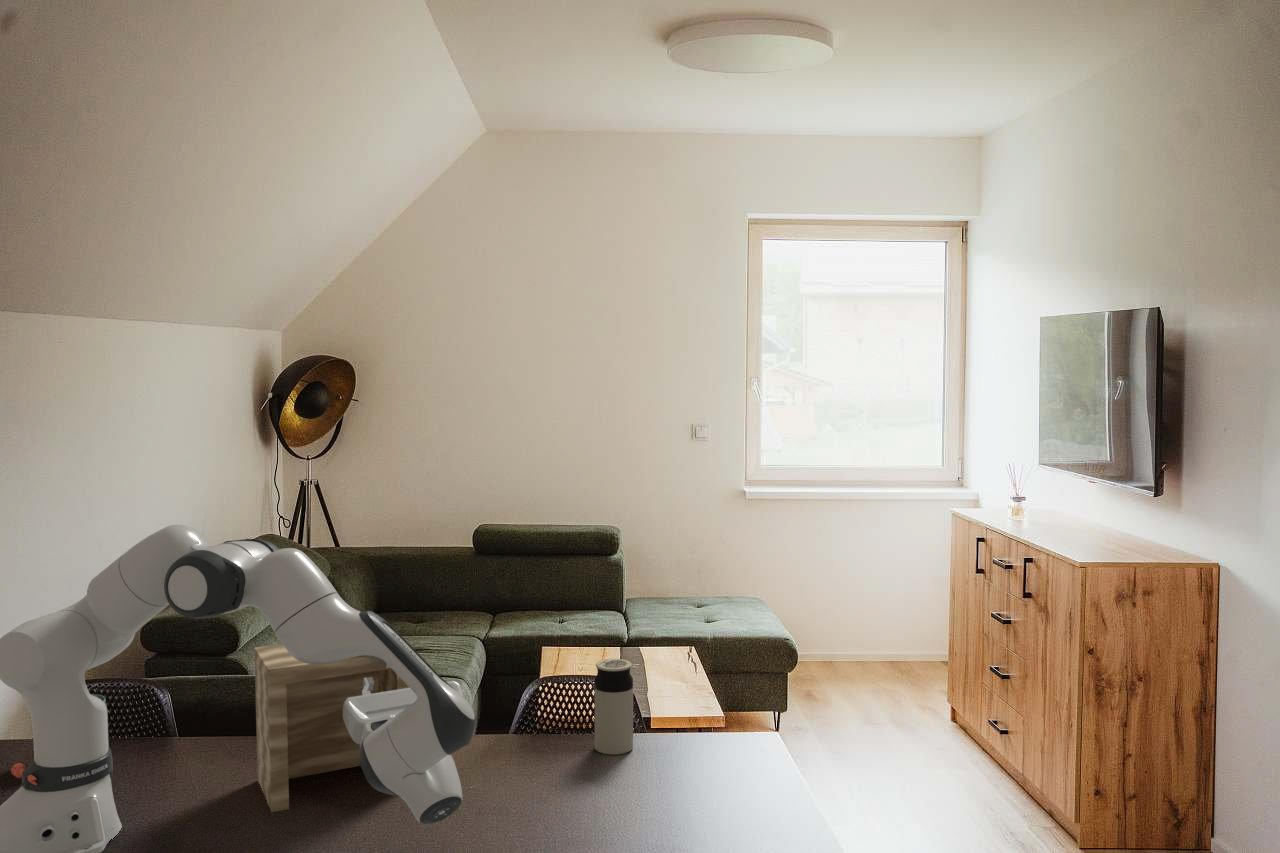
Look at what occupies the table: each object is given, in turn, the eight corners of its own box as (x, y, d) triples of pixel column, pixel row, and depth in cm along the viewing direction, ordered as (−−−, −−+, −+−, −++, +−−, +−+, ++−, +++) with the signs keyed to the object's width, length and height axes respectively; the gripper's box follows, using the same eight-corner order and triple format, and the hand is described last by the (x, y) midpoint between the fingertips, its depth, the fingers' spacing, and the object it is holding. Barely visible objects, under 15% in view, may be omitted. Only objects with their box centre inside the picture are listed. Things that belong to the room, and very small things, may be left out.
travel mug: (640, 746, 218) (640, 661, 217) (619, 758, 212) (619, 671, 210) (608, 739, 223) (608, 656, 221) (587, 750, 216) (586, 665, 215)
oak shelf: (414, 784, 199) (412, 647, 197) (271, 812, 186) (268, 667, 185) (391, 756, 213) (389, 628, 211) (257, 780, 201) (254, 645, 199)
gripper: (477, 711, 177) (453, 654, 187) (355, 733, 167) (337, 671, 177) (471, 737, 180) (448, 679, 190) (351, 759, 170) (334, 697, 180)
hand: (394, 675), depth 183 cm, fingers open, 8 cm apart
